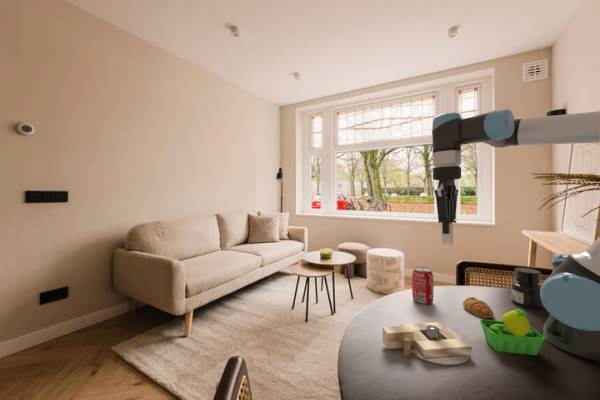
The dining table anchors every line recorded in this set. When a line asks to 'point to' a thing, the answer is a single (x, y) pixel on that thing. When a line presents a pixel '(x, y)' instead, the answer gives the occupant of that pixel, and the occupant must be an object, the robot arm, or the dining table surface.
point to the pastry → (478, 308)
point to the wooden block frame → (426, 340)
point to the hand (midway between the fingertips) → (447, 244)
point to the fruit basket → (512, 334)
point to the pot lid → (447, 360)
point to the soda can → (422, 285)
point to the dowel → (407, 347)
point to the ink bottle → (527, 288)
